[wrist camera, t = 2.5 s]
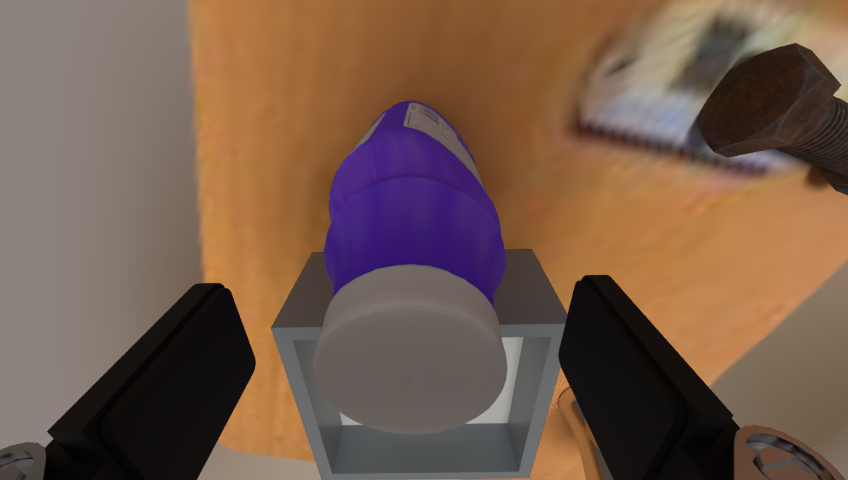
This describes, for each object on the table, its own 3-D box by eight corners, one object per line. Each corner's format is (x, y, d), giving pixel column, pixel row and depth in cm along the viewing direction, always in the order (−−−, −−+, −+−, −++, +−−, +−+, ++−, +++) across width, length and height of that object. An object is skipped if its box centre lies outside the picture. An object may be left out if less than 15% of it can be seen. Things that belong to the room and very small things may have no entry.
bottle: (349, 141, 21) (176, 359, 6) (414, 76, 20) (384, 167, 4) (424, 217, 24) (427, 495, 9) (487, 166, 22) (622, 410, 7)
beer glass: (581, 369, 32) (687, 582, 19) (636, 387, 34) (769, 598, 21) (540, 408, 36) (608, 615, 23) (592, 424, 37) (684, 627, 24)
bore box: (312, 252, 26) (270, 327, 19) (531, 249, 26) (572, 323, 19) (342, 392, 34) (321, 480, 27) (507, 390, 34) (529, 478, 27)
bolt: (849, 169, 24) (686, 102, 22) (961, 116, 20) (777, 24, 17) (897, 235, 22) (715, 168, 19) (1040, 189, 17) (834, 94, 14)
